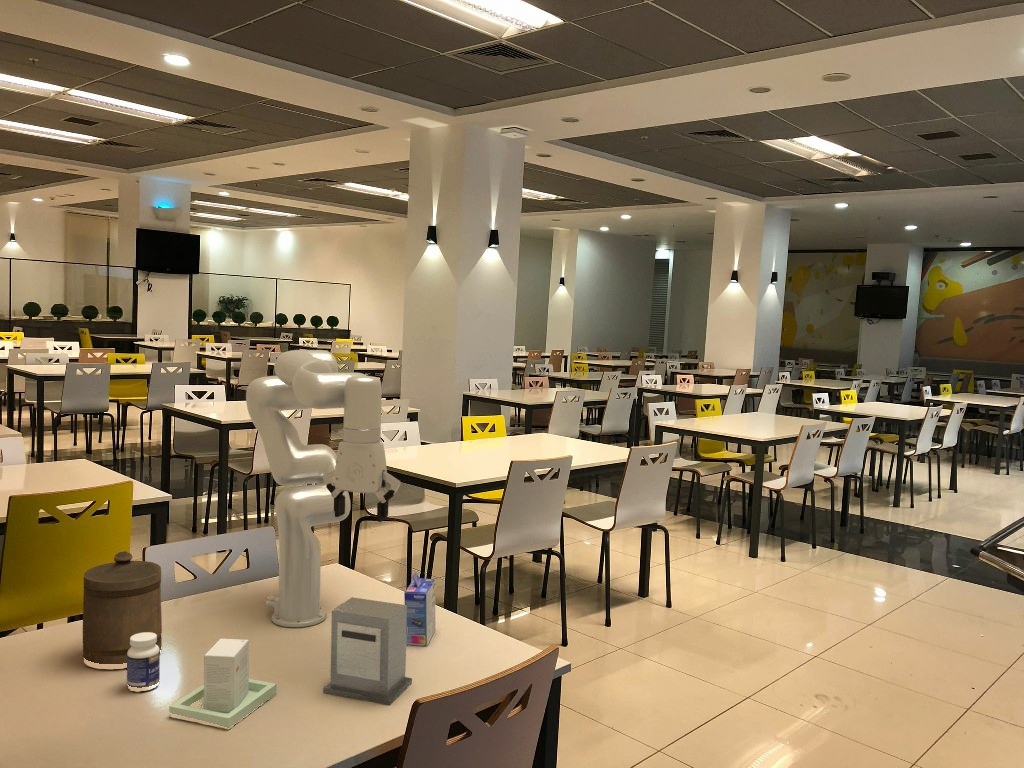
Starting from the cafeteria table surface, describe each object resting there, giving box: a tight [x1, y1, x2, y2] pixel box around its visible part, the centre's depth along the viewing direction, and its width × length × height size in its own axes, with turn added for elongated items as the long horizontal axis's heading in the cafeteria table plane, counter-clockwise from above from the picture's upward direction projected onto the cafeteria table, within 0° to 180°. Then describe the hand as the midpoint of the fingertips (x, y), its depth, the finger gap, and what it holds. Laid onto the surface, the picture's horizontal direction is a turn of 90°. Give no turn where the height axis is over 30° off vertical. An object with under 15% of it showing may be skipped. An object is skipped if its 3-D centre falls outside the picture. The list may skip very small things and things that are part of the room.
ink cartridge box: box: [403, 571, 436, 647], centre depth 186 cm, size 10×6×14 cm, turn 174°
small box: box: [203, 638, 250, 712], centre depth 151 cm, size 8×6×10 cm
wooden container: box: [82, 550, 163, 664], centre depth 171 cm, size 15×15×22 cm
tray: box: [168, 678, 277, 728], centre depth 151 cm, size 12×14×2 cm
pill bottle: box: [126, 632, 161, 688], centre depth 158 cm, size 6×6×10 cm
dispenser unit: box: [322, 596, 413, 706], centre depth 160 cm, size 14×10×16 cm
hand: (360, 518), depth 171 cm, fingers open, 9 cm apart
